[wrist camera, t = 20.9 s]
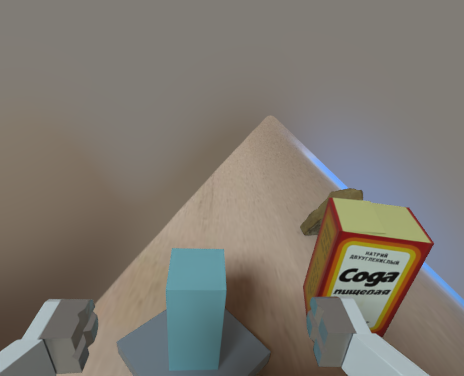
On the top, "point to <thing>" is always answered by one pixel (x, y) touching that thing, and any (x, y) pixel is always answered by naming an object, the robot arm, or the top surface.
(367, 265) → the baking soda box
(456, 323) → the top surface
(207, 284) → the teal block
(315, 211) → the rock
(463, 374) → the top surface
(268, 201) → the top surface
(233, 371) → the slate tile
